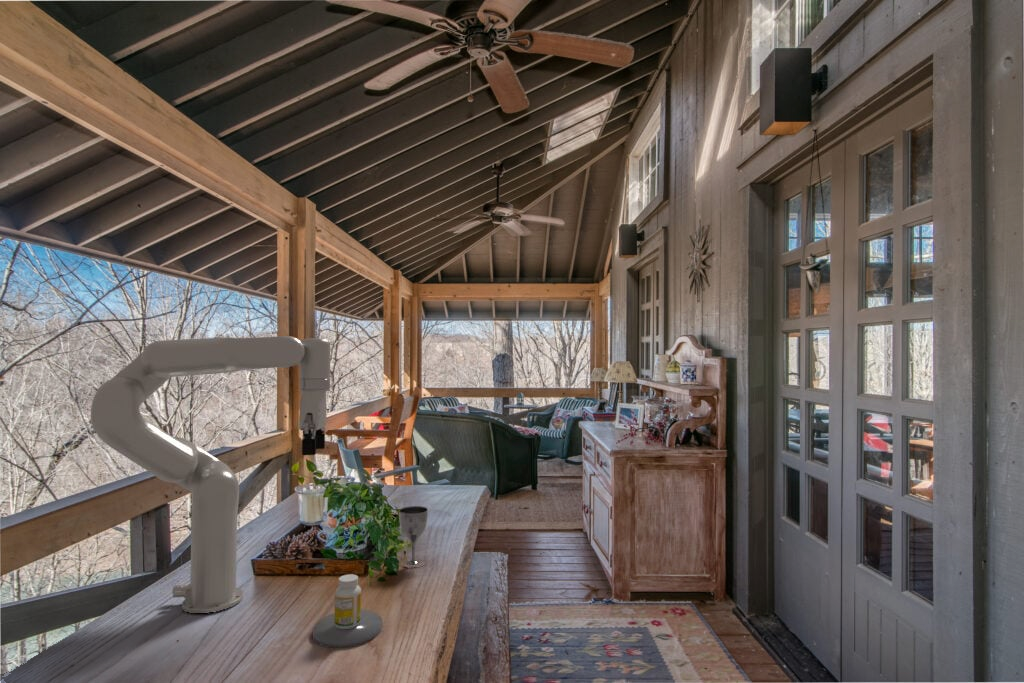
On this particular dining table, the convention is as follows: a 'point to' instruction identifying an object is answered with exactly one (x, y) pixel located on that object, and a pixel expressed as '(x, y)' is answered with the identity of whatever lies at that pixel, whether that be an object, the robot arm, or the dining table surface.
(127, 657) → the dining table surface
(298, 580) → the dining table surface
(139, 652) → the dining table surface
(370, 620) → the smooth grey river stone
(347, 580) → the supplement bottle
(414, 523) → the wine glass
